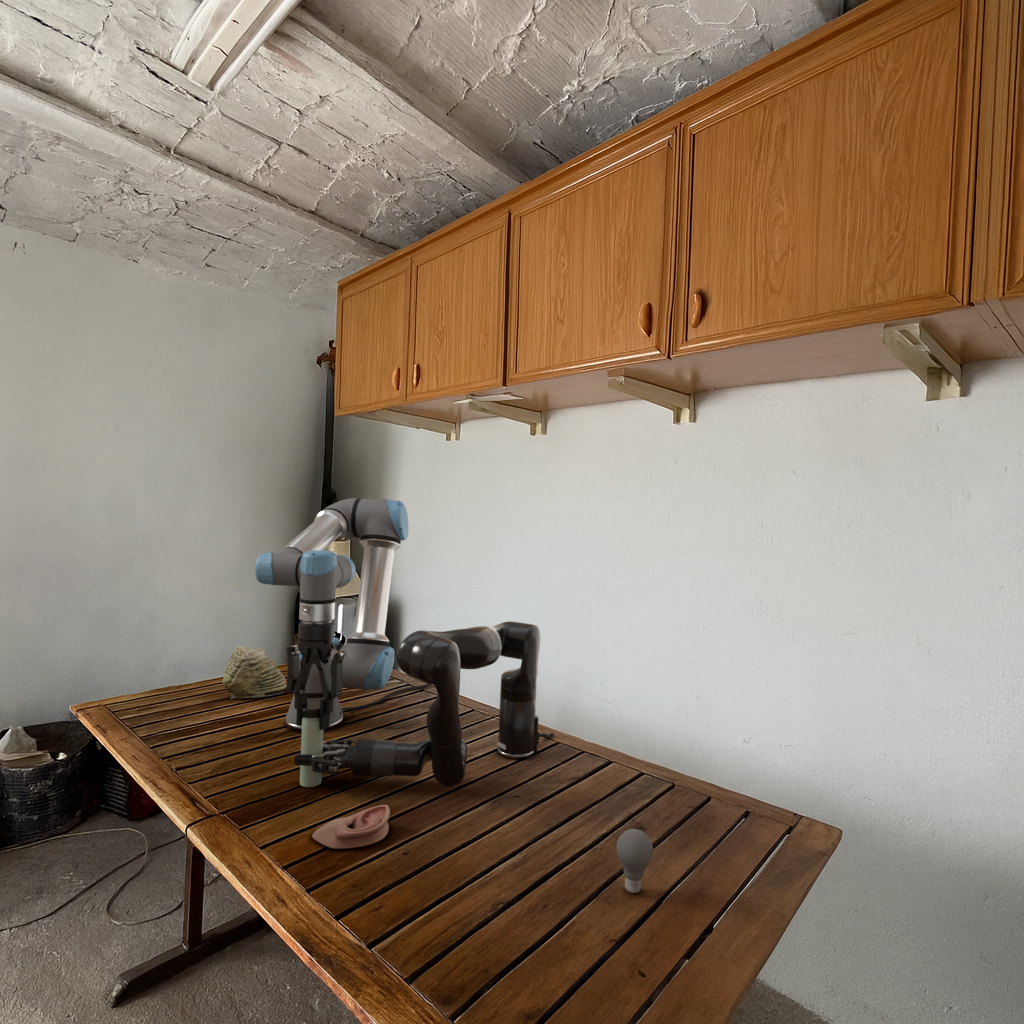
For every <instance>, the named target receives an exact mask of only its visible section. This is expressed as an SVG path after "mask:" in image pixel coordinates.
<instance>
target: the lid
mask: <svg viewBox="0 0 1024 1024" xmlns="http://www.w3.org/2000/svg"><path fill="white" fill-rule="evenodd" d="M301 716H302V717H304V718H319V717H320V702H309V703H305V704H303V705H302V706H301Z"/></svg>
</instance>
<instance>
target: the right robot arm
mask: <svg viewBox="0 0 1024 1024" xmlns="http://www.w3.org/2000/svg"><path fill="white" fill-rule="evenodd" d="M541 648H542V632H541V628H540V626H539V625H537V624H534V623H528V622H521V621H512V620H511V621H510V620H509V621H503V622H500V623H498V624H495V625H492V626H489V625H480V626H479V625H477V626H471V627H465V628H458V629H451V630H446V631H445V630H444V631H436V630H425V629H423V630H421V629H420V630H416V631H414V632H411V633H410V634H408V635H407V636H406V637H405V638H403V640H402V641H401V642H400V645H399V646H398V649H397V651H396V663H397V666H398V667H399V669H400V670H401V671H402V672H403V673H404V674H405V675H406V676H409V677H411V678H413V679H415V680H418V681H420V682H423V683H426V684H431V685H430V686H433V687H435V689H436V692H437V697H436V699H435V700H434V701H433V702H432V703H431V705H430V706H429V708H428V711H427V714H426V728H427V732H428V738H429V739H424V740H422V741H417V742H415V741H413V742H412V741H411V742H410V741H396V740H389V739H370V738H368V739H367V738H358V739H356V741H355V742H354V745H353V739H338V740H337V739H336V740H335V739H334V740H326V741H325V743H323V754H317V755H312V754H301V753H297V754H295V756H294V765H295V766H300V765H303V766H312V771H314V772H319V773H322V774H325V775H331V776H337V775H338V774H339V770H345V769H351V774H352V775H354V776H362V777H364V776H365V777H392V776H397V777H418V776H420V775H421V774H422V772H423V770H424V767H425V766H426V764H427V763H429V762H431V769H432V770H431V771H432V775H433V778H434V779H435V780H436V782H437V783H438V784H439V785H441V786H443V787H447V788H453V787H455V786H458V785H459V784H461V783H462V781H463V780H464V778H465V776H466V770H467V759H468V745H467V743H466V742H465V740H464V739H463V730H462V724H461V723H462V722H461V718H460V709H459V708H460V706H459V705H460V703H459V702H460V689H461V670H478V669H482V668H486V667H489V666H491V665H493V664H495V663H496V662H497V661H498V660H499V658H500V657H504V658H507V659H516V660H521V662H520V666H519V667H518V668H512V669H508V670H506V671H504V672H502V674H501V675H500V693H499V716H498V736H497V737H498V738H497V743H496V744H497V753H498V754H499V755H500V756H502V757H504V758H507V759H513V760H523V759H527V758H530V757H532V756H534V755H537V754H538V745H540V738H544V739H546V740H548V739H550V738H552V737H554V736H555V732H553V731H552V732H550V733H548V734H547V733H546V732H540V731H539V716H538V715H536V711H537V710H536V709H537V691H538V689H537V687H538V676H539V671H540V659H541ZM320 758H322V759H320ZM319 767H322V768H319Z"/></svg>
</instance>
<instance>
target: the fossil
mask: <svg viewBox="0 0 1024 1024" xmlns="http://www.w3.org/2000/svg"><path fill="white" fill-rule="evenodd" d="M222 676H223V677H222V685H223V687H224V688H225V690H226V691H228V693H229V698H230V699H250V698H264V697H271V696H275V695H281V694H284V693H285V691H287V679H286V678H285V676H284V674H283V673H282V672H281V669H279V668H278V667H277V665H276V663H275V662H274V660H273V659H272V658H271V657H270V656H269V655H268V654H267V653H266V652H265V650H264V649H263V648H260V647H258V648H251V647H247V646H246V647H245V646H238V647H237V648H236V649H235V650H233V651H232V653H231V656H230V657H229V659H228V660H227V663H226V666H225V668H224V671H223V675H222Z"/></svg>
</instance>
